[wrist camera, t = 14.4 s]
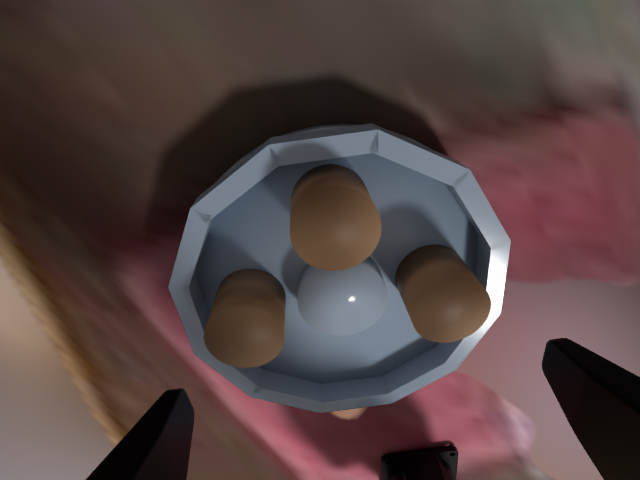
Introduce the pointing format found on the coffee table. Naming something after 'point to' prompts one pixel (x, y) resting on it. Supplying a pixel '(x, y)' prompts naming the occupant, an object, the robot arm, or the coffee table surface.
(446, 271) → the bead
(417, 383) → the groove tray
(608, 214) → the coffee table surface
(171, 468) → the robot arm
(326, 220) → the bead
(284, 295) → the wooden rounded peg
